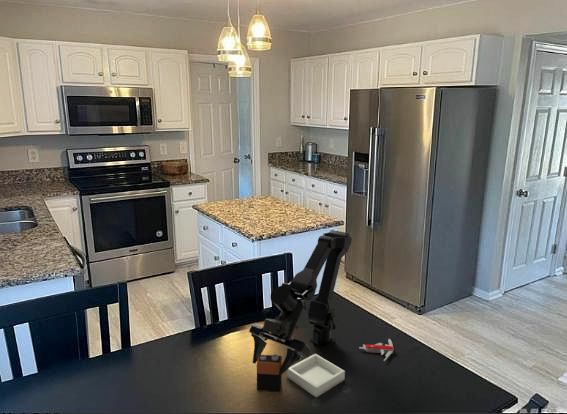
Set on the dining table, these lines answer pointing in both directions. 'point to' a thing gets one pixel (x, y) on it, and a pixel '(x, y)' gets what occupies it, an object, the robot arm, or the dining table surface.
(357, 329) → the dining table surface
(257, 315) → the dining table surface
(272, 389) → the battery
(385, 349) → the swiss army knife
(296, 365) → the parts tray
